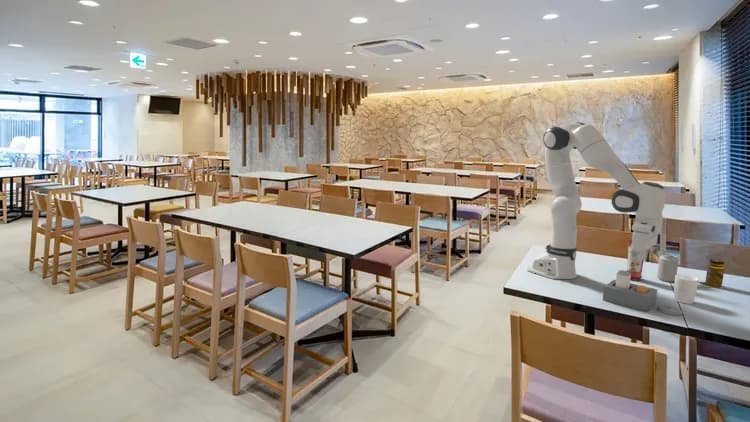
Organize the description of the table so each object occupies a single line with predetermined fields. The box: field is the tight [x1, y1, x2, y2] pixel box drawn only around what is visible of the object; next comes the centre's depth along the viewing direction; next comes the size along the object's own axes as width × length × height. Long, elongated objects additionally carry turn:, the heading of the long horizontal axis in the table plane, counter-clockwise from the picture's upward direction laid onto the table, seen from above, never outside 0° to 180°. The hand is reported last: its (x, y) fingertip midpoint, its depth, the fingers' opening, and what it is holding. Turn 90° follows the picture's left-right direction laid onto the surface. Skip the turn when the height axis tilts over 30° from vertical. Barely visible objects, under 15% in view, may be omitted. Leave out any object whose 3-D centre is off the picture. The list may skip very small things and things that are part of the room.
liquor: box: [626, 236, 645, 281], centre depth 204 cm, size 7×7×28 cm
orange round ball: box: [636, 284, 649, 293], centre depth 174 cm, size 4×4×4 cm
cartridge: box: [615, 269, 631, 290], centre depth 179 cm, size 5×5×12 cm
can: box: [656, 253, 680, 283], centre depth 205 cm, size 8×8×12 cm
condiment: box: [698, 258, 726, 290], centre depth 198 cm, size 7×8×12 cm
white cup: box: [673, 274, 700, 305], centre depth 179 cm, size 8×8×10 cm
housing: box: [602, 279, 658, 312], centre depth 177 cm, size 16×12×6 cm
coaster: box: [657, 305, 683, 316], centre depth 169 cm, size 8×8×1 cm
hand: (643, 258), depth 172 cm, fingers closed
